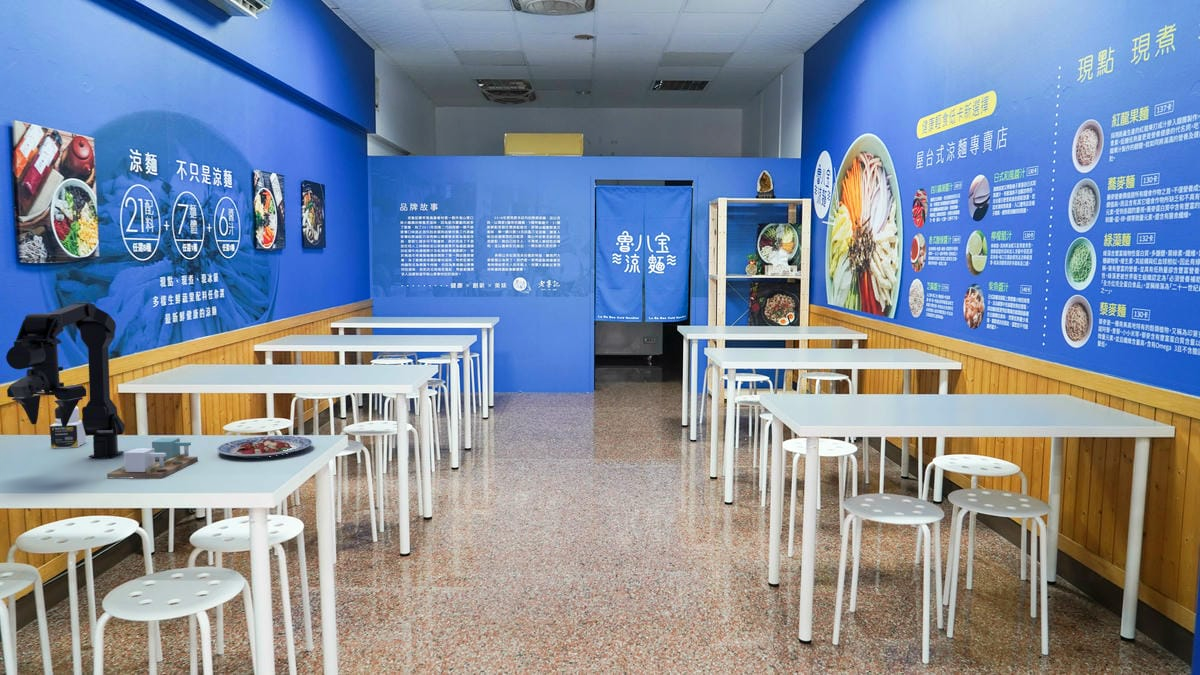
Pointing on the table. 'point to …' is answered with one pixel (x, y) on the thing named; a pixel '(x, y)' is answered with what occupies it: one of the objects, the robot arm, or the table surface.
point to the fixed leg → (142, 459)
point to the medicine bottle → (67, 431)
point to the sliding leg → (170, 447)
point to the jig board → (157, 468)
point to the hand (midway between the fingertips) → (49, 425)
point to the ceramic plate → (263, 446)
